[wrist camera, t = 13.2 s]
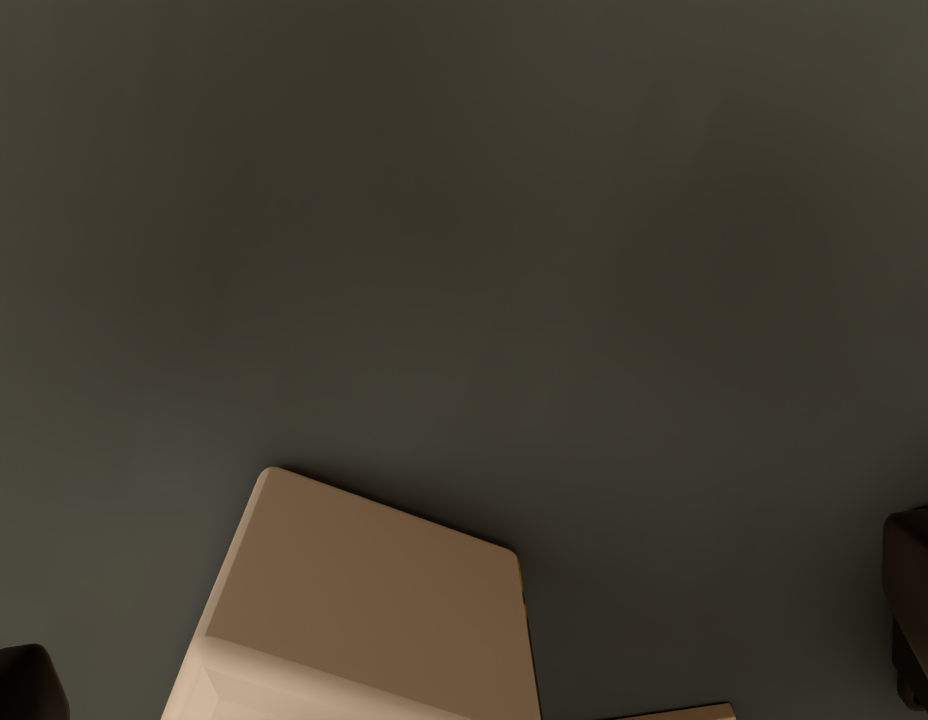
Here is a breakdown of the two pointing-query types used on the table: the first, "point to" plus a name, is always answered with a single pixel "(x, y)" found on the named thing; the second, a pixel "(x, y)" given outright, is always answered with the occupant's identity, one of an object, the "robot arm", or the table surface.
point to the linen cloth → (693, 714)
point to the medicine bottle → (356, 618)
